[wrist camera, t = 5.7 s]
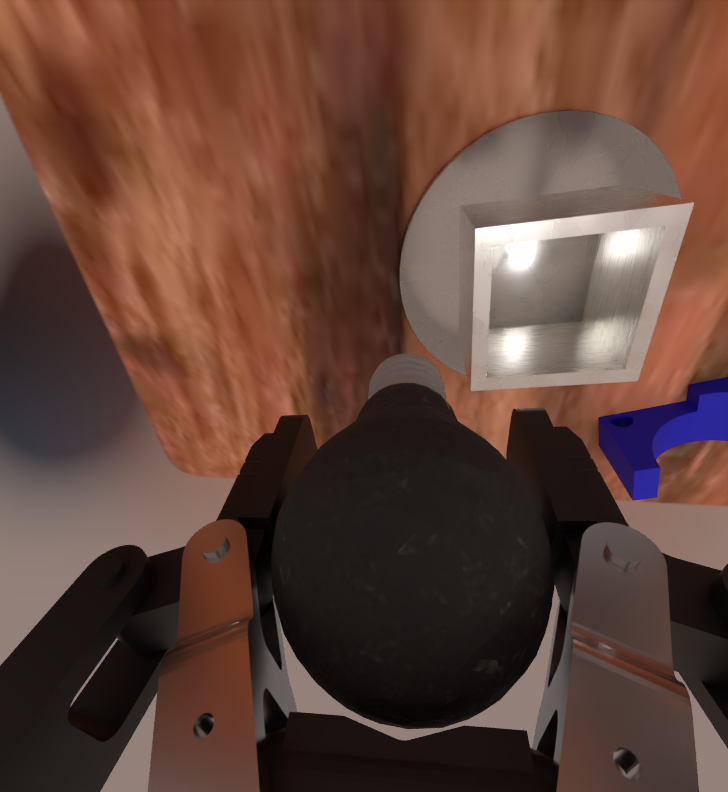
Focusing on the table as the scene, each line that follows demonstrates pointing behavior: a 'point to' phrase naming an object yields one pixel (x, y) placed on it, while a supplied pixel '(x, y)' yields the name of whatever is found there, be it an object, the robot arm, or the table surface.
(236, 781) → the robot arm
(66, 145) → the table surface
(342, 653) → the light bulb
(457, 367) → the lamp base
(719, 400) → the cable clip
